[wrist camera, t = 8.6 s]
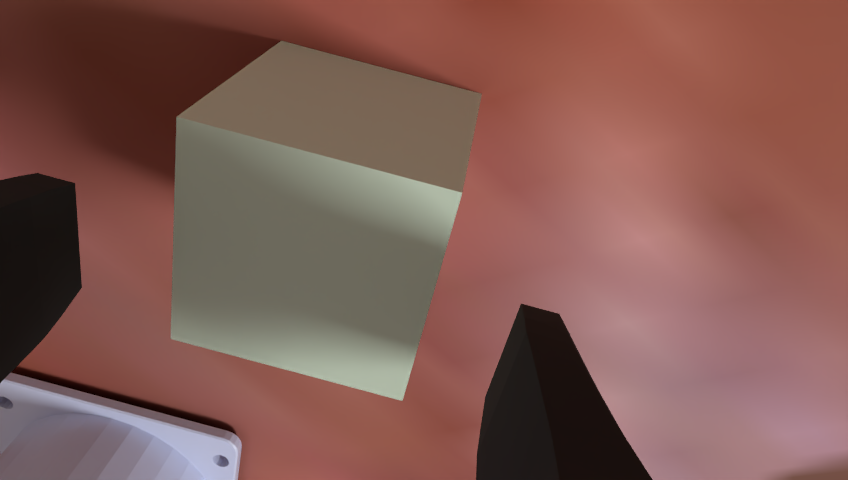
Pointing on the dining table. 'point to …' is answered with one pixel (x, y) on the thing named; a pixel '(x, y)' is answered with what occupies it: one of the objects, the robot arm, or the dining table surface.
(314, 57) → the sage block
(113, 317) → the dining table surface
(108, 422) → the robot arm
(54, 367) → the dining table surface
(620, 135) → the dining table surface
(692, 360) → the dining table surface
